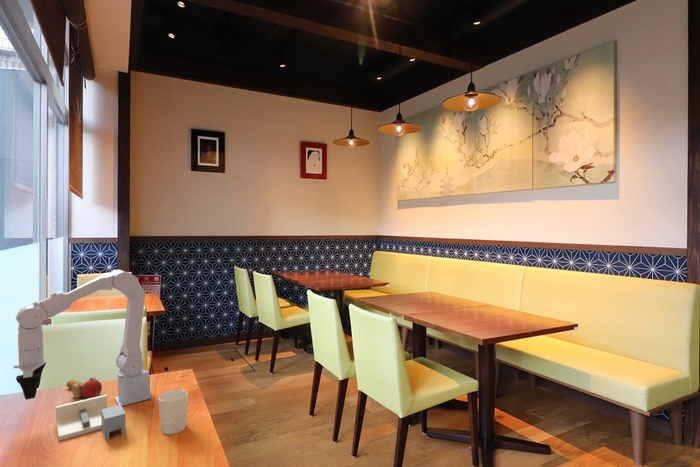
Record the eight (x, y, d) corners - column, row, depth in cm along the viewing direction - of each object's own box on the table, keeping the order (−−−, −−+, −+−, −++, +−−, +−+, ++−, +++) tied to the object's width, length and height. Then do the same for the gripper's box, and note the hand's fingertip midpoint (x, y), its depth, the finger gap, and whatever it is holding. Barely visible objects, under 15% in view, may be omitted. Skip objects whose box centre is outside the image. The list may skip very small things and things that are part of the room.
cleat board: (106, 410, 128) (106, 394, 127) (113, 425, 118) (112, 408, 118) (56, 423, 119) (55, 406, 119) (58, 440, 110) (58, 422, 110)
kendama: (56, 396, 141) (82, 401, 132) (59, 377, 142) (84, 381, 133) (80, 392, 147) (106, 396, 138) (82, 374, 149) (108, 377, 139)
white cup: (194, 424, 119) (193, 391, 119) (174, 438, 112) (174, 402, 111) (173, 420, 122) (172, 387, 121) (152, 433, 114) (152, 398, 114)
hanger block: (121, 424, 119) (120, 404, 119) (125, 434, 114) (125, 413, 114) (101, 429, 116) (101, 409, 116) (105, 440, 111) (104, 418, 110)
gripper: (17, 343, 121) (19, 387, 121) (8, 357, 108) (9, 406, 109) (47, 339, 124) (48, 382, 125) (40, 352, 112) (42, 400, 113)
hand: (32, 393), depth 117 cm, fingers open, 7 cm apart
